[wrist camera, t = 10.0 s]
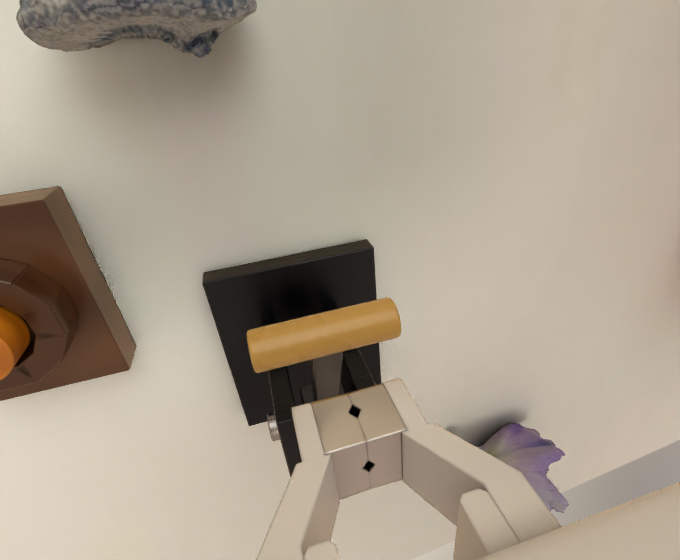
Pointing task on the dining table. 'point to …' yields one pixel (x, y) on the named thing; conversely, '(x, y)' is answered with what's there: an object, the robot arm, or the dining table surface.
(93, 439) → the dining table surface
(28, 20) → the grey rock
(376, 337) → the switch lever
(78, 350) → the button block
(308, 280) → the switch bracket
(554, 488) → the flower
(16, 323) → the button
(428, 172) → the dining table surface
